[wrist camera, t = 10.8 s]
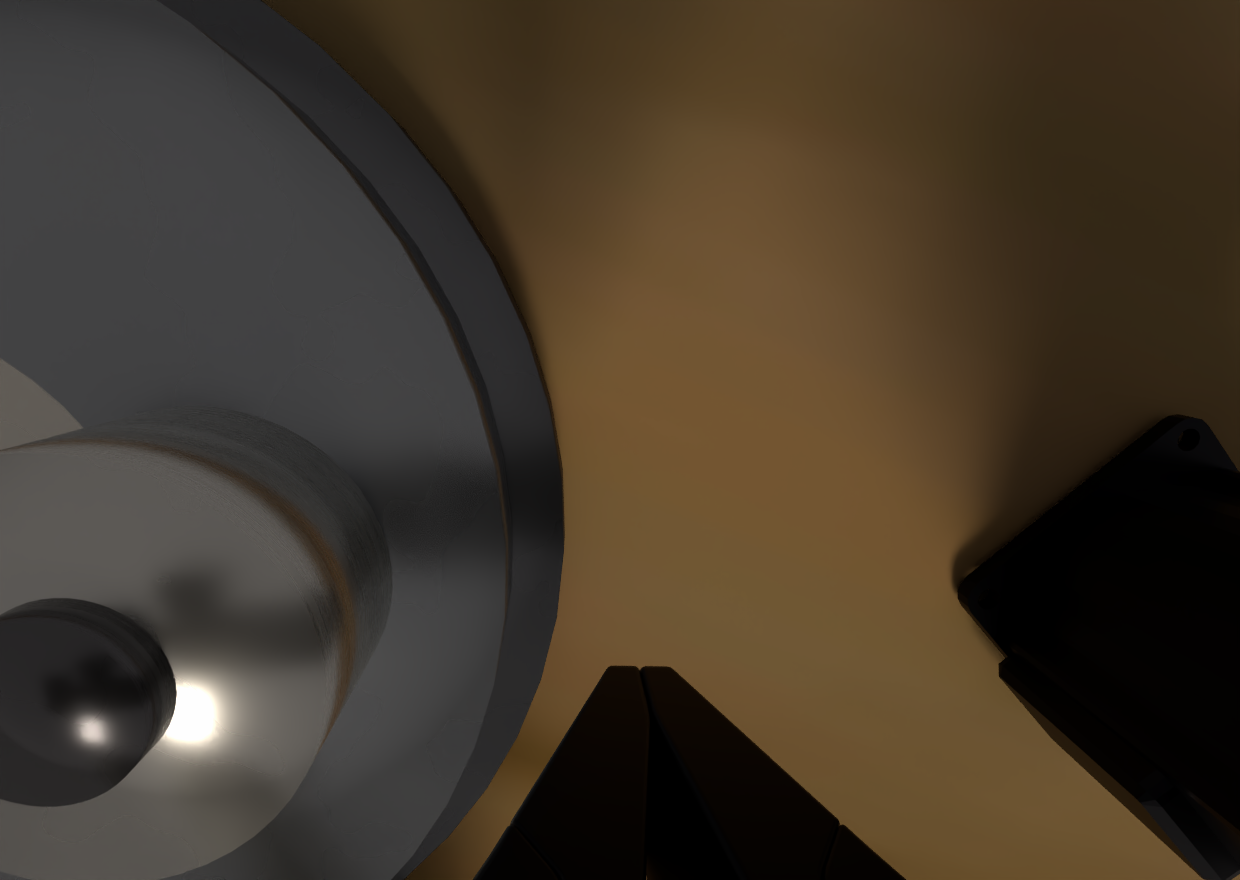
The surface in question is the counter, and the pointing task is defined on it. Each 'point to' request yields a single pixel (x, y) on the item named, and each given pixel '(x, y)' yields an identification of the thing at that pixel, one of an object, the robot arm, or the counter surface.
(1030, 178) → the counter surface
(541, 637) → the turntable base
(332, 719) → the cover
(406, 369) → the turntable
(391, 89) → the counter surface
